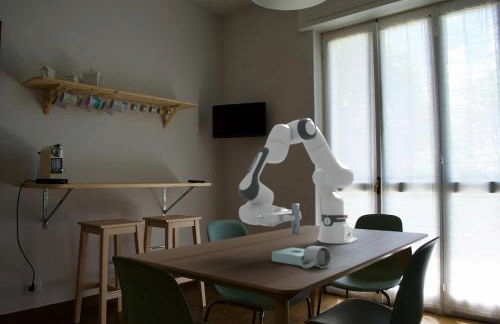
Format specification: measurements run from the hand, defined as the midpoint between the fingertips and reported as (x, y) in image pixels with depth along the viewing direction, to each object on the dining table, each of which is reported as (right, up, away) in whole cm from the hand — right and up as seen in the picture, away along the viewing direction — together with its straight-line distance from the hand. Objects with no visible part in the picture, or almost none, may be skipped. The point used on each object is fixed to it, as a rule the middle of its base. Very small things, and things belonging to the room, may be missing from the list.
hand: (297, 217), depth 155 cm
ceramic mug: (+5, -17, -12) cm, 21 cm away
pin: (-1, -7, 0) cm, 7 cm away
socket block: (0, -17, 0) cm, 17 cm away
